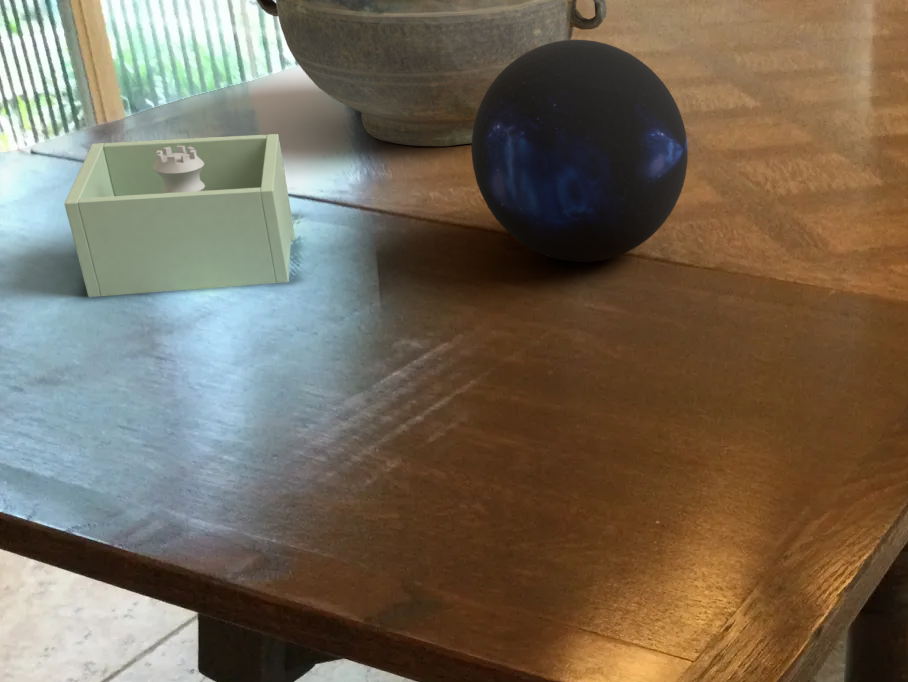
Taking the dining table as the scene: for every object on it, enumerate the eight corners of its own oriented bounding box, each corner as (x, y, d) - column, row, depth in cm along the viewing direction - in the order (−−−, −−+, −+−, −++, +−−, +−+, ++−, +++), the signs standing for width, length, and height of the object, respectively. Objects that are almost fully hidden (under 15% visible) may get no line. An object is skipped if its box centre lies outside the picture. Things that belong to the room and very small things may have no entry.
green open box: (92, 315, 88) (63, 203, 84) (116, 246, 99) (91, 143, 94) (291, 300, 91) (273, 190, 87) (294, 234, 101) (278, 133, 97)
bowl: (213, 156, 116) (178, -29, 108) (329, 78, 138) (307, -80, 130) (577, 179, 113) (569, -10, 105) (637, 96, 135) (634, -66, 126)
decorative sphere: (459, 290, 93) (437, 67, 85) (504, 215, 105) (489, 14, 97) (677, 299, 92) (676, 75, 84) (695, 223, 105) (697, 21, 96)
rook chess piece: (156, 261, 95) (131, 148, 90) (219, 248, 97) (197, 137, 93) (178, 281, 92) (152, 166, 87) (242, 267, 94) (220, 153, 90)
